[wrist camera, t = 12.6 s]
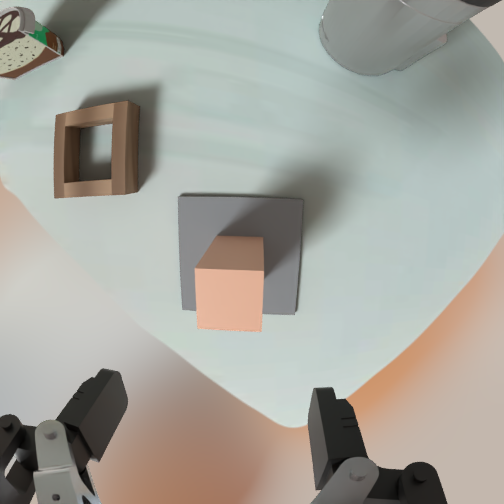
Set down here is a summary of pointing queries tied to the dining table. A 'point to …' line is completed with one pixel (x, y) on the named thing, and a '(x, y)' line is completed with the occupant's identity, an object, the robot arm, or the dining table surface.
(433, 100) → the dining table surface
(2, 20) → the food container
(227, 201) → the rubber mat
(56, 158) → the walnut pocket
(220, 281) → the terracotta block
